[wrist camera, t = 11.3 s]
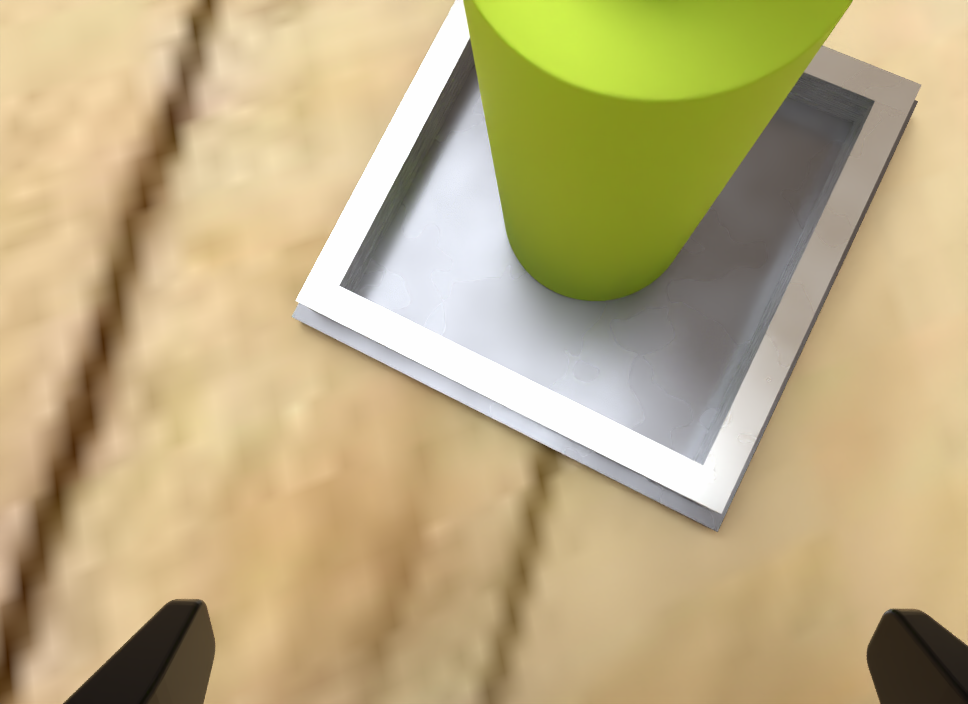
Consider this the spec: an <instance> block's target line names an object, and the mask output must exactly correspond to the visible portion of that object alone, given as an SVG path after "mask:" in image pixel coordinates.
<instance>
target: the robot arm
mask: <svg viewBox="0 0 968 704" xmlns="http://www.w3.org/2000/svg"><path fill="white" fill-rule="evenodd" d="M214 655H215V638H214V634H213V630H212V626H211V622H210V618H209V614H208V610H207V606H206V604H205V603H204V602H203V601H202V600H199V599H175V600H172V601H170V602H168V603H167V604H166V605H164V606H163V607H162V608H161V609H160V610H159V611H158V612H157V613H156V614H155V615H154V616H153V617H152V618H151V619H150V620H149V621H148V622H147V623H146V624H145V625H144V626H143V627H142V628H141V629H140V630H139V631H138V632H137V633H135V634H134V635H133V636H132V637H131V638H130V639H129V640H128V641H127V642H126V643H125V644H124V645H123V646H122V647H121V648H120V649H119V650H118V651H117V652H116V653H115V654H114V655H113V656H112V657H111V658H110V659H109V660H108V661H107V662H106V663H104V664H103V665H102V666H101V667H100V668H99V669H98V670H97V671H96V672H95V673H94V674H93V675H92V676H91V677H90V678H89V679H88V680H87V681H86V682H85V683H84V684H83V685H82V686H81V687H80V688H79V689H78V690H77V691H76V692H75V693H73V694H72V695H71V696H70V697H69V698H68V699H67V700H66V701H65V702H64V703H63V704H203V703H204V699H205V694H206V690H207V686H208V682H209V677H210V673H211V669H212V665H213V660H214ZM867 663H868V667H869V670H870V673H871V676H872V680H873V683H874V686H875V689H876V692H877V695H878V698H879V701H880V704H968V646H967V645H966V644H965V643H963V642H962V641H961V640H960V639H958V638H957V637H956V636H954V635H953V634H952V633H951V632H949V631H948V630H947V629H945V628H944V627H943V626H942V625H940V624H939V623H938V622H936V621H935V620H934V619H933V618H931V617H930V616H929V615H927V614H926V613H924V612H922V611H920V610H916V609H889V610H888V611H886V612H885V613H884V614H883V616H882V618H881V620H880V622H879V624H878V626H877V628H876V630H875V632H874V634H873V636H872V638H871V640H870V642H869V645H868V647H867Z"/></svg>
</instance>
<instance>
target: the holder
mask: <svg viewBox="0 0 968 704" xmlns="http://www.w3.org/2000/svg"><path fill="white" fill-rule="evenodd" d="M920 87H921V84H918V83H916V82H913V81H910V80H908V79H905V78H903V77H900V76H898V75H895V74H893V73H890V72H888V71H885V70H883V69H880V68H878V67H875V66H873V65H870V64H868V63H865V62H863V61H860V60H858V59H855V58H853V57H850V56H847V55H845V54H842V53H840V52H837V51H835V50H832V49H830V48H827V47H825V46H821V48H820V49H819V51H818V52H817V54H816V55H815V56H814V58H813V59H812V61H811V62H810V64H809V65H808V67H807V68H806V69H805V71H804V72H803V74H802V75H801V77H800V78H799V80H798V81H797V82H796V84H795V85H794V87H793V88H792V90H791V91H790V93H789V94H788V96H787V97H786V98H785V100H784V101H783V103H782V104H781V106H780V107H779V109H778V110H777V111H776V113H775V114H774V116H773V117H772V119H771V120H770V122H769V123H768V124H767V126H766V127H765V129H764V130H763V132H762V133H761V135H760V136H759V137H758V139H757V140H756V142H755V143H754V145H753V146H752V148H751V149H750V151H749V152H748V153H747V155H746V156H745V158H744V159H743V161H742V162H741V164H740V165H739V166H738V168H737V169H736V171H735V172H734V174H733V175H732V177H731V178H730V179H729V181H728V182H727V184H726V185H725V187H724V188H723V190H722V191H721V193H720V194H719V195H718V197H717V198H716V200H715V201H714V203H713V204H712V206H711V207H710V208H709V210H708V211H707V213H706V214H705V216H704V217H703V219H702V220H701V221H700V223H699V224H698V226H697V227H696V229H695V230H694V232H693V233H692V234H691V236H690V237H689V239H688V240H687V242H686V243H685V245H684V246H683V248H682V249H681V250H680V252H679V253H678V255H677V256H676V258H675V259H674V261H673V262H672V263H671V265H670V266H669V267H668V268H667V269H666V271H665V272H664V273H663V274H662V275H661V276H660V277H658V278H657V279H656V280H655V281H653V282H652V283H651V284H649V285H648V286H646V287H645V288H643V289H641V290H639V291H637V292H635V293H633V294H630V295H628V296H625V297H621V298H617V299H612V300H605V301H586V300H579V299H574V298H570V297H567V296H564V295H561V294H558V293H556V292H554V291H552V290H550V289H548V288H547V287H545V286H544V285H542V284H541V283H539V282H538V281H537V280H535V279H534V278H533V277H532V276H531V275H530V274H529V273H528V272H527V271H526V270H525V269H524V267H523V266H522V265H521V263H520V262H519V261H518V259H517V257H516V256H515V254H514V252H513V250H512V248H511V245H510V243H509V240H508V237H507V233H506V228H505V223H504V218H503V212H502V207H501V201H500V196H499V191H498V185H497V180H496V175H495V169H494V164H493V158H492V153H491V148H490V142H489V137H488V132H487V126H486V121H485V115H484V110H483V105H482V99H481V94H480V89H479V83H478V78H477V72H476V67H475V62H474V56H473V51H472V45H471V40H470V35H469V29H468V24H467V19H466V13H465V8H464V2H463V0H456V1H455V2H454V4H453V6H452V8H451V10H450V12H449V14H448V16H447V17H446V19H445V21H444V23H443V25H442V27H441V29H440V31H439V32H438V34H437V36H436V38H435V40H434V42H433V44H432V46H431V47H430V49H429V51H428V53H427V55H426V57H425V59H424V61H423V63H422V64H421V66H420V68H419V70H418V72H417V74H416V76H415V78H414V79H413V81H412V83H411V85H410V87H409V89H408V91H407V93H406V94H405V96H404V98H403V100H402V102H401V104H400V106H399V108H398V109H397V111H396V113H395V115H394V117H393V119H392V121H391V123H390V124H389V126H388V128H387V130H386V132H385V134H384V136H383V138H382V139H381V141H380V143H379V145H378V147H377V149H376V151H375V153H374V155H373V156H372V158H371V160H370V162H369V164H368V166H367V168H366V170H365V171H364V173H363V175H362V177H361V179H360V181H359V183H358V185H357V186H356V188H355V190H354V192H353V194H352V196H351V198H350V200H349V201H348V203H347V205H346V207H345V209H344V211H343V213H342V215H341V216H340V218H339V220H338V222H337V224H336V226H335V228H334V230H333V231H332V233H331V235H330V237H329V239H328V241H327V243H326V245H325V247H324V248H323V250H322V252H321V254H320V256H319V258H318V260H317V262H316V263H315V265H314V267H313V269H312V271H311V273H310V275H309V277H308V278H307V280H306V282H305V284H304V286H303V288H302V290H301V292H300V293H299V295H298V297H297V299H296V301H297V302H299V304H298V306H297V308H296V309H295V311H294V313H293V315H292V317H293V318H295V319H297V320H299V321H301V322H303V323H305V324H307V325H309V326H311V327H313V328H315V329H317V330H319V331H321V332H323V333H325V334H327V335H329V336H330V337H332V338H334V339H336V340H338V341H340V342H342V343H344V344H346V345H348V346H350V347H352V348H354V349H356V350H358V351H360V352H362V353H364V354H366V355H368V356H370V357H372V358H374V359H376V360H378V361H380V362H382V363H384V364H386V365H388V366H390V367H392V368H394V369H396V370H398V371H400V372H402V373H404V374H406V375H408V376H410V377H412V378H414V379H416V380H418V381H419V382H421V383H423V384H425V385H427V386H429V387H431V388H433V389H435V390H437V391H439V392H441V393H443V394H445V395H447V396H449V397H451V398H453V399H455V400H457V401H459V402H461V403H463V404H465V405H467V406H469V407H471V408H473V409H475V410H477V411H479V412H481V413H483V414H485V415H487V416H489V417H491V418H493V419H495V420H497V421H499V422H501V423H503V424H505V425H507V426H509V427H510V428H512V429H514V430H516V431H518V432H520V433H522V434H524V435H526V436H528V437H530V438H532V439H534V440H536V441H538V442H540V443H542V444H544V445H546V446H548V447H550V448H552V449H554V450H556V451H558V452H560V453H562V454H564V455H566V456H568V457H570V458H572V459H574V460H576V461H578V462H580V463H582V464H584V465H586V466H588V467H590V468H592V469H594V470H596V471H598V472H599V473H601V474H603V475H605V476H607V477H609V478H611V479H613V480H615V481H617V482H619V483H621V484H623V485H625V486H627V487H629V488H631V489H633V490H635V491H637V492H639V493H641V494H643V495H645V496H647V497H649V498H651V499H653V500H655V501H657V502H659V503H661V504H663V505H665V506H667V507H669V508H671V509H673V510H675V511H677V512H679V513H681V514H683V515H685V516H687V517H688V518H690V519H692V520H694V521H696V522H698V523H700V524H702V525H704V526H706V527H708V528H710V529H712V530H714V531H716V532H718V530H719V528H720V526H721V523H722V521H723V519H724V517H725V515H726V513H727V511H728V508H729V506H730V504H731V502H732V500H733V498H734V496H735V493H736V491H737V489H738V487H739V485H740V483H741V480H742V478H743V476H744V474H745V472H746V470H747V468H748V465H749V463H750V461H751V459H752V457H753V455H754V453H755V450H756V448H757V446H758V444H759V442H760V440H761V438H762V435H763V433H764V431H765V429H766V427H767V425H768V422H769V420H770V418H771V416H772V414H773V412H774V410H775V407H776V405H777V403H778V401H779V399H780V397H781V395H782V392H783V390H784V388H785V386H786V384H787V382H788V380H789V377H790V375H791V373H792V371H793V369H794V367H795V365H796V362H797V360H798V358H799V356H800V354H801V352H802V349H803V347H804V345H805V343H806V341H807V339H808V337H809V334H810V332H811V330H812V328H813V326H814V324H815V322H816V319H817V317H818V315H819V313H820V311H821V309H822V307H823V304H824V302H825V300H826V298H827V296H828V294H829V291H830V289H831V287H832V285H833V283H834V281H835V279H836V276H837V274H838V272H839V270H840V268H841V266H842V264H843V261H844V259H845V257H846V255H847V253H848V251H849V249H850V246H851V244H852V242H853V240H854V238H855V236H856V233H857V231H858V229H859V227H860V225H861V223H862V221H863V218H864V216H865V214H866V212H867V210H868V208H869V206H870V203H871V201H872V199H873V197H874V195H875V193H876V191H877V188H878V186H879V184H880V182H881V180H882V178H883V175H884V173H885V171H886V169H887V167H888V165H889V163H890V160H891V158H892V156H893V154H894V152H895V150H896V148H897V145H898V143H899V141H900V139H901V137H902V135H903V133H904V130H905V128H906V126H907V124H908V122H909V120H910V117H911V115H912V113H913V111H914V109H915V107H916V105H917V102H918V101H916V100H915V98H916V96H917V93H918V91H919V89H920Z"/></svg>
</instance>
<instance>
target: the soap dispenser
mask: <svg viewBox="0 0 968 704" xmlns="http://www.w3.org/2000/svg"><path fill="white" fill-rule="evenodd" d="M852 1H853V0H463V2H464V8H465V13H466V19H467V24H468V29H469V35H470V40H471V45H472V51H473V56H474V62H475V67H476V72H477V78H478V83H479V89H480V94H481V99H482V105H483V110H484V115H485V121H486V126H487V132H488V137H489V142H490V148H491V153H492V158H493V164H494V169H495V175H496V180H497V185H498V191H499V196H500V201H501V207H502V212H503V218H504V223H505V228H506V233H507V237H508V240H509V243H510V245H511V248H512V250H513V252H514V254H515V256H516V257H517V259H518V261H519V262H520V263H521V265H522V266H523V267H524V269H525V270H526V271H527V272H528V273H529V274H530V275H531V276H532V277H533V278H534V279H535V280H537V281H538V282H539V283H541V284H542V285H544V286H545V287H547V288H548V289H550V290H552V291H554V292H556V293H558V294H561V295H564V296H567V297H570V298H574V299H579V300H586V301H605V300H612V299H617V298H621V297H625V296H628V295H630V294H633V293H635V292H637V291H639V290H641V289H643V288H645V287H646V286H648V285H649V284H651V283H652V282H653V281H655V280H656V279H657V278H658V277H660V276H661V275H662V274H663V273H664V272H665V271H666V269H667V268H668V267H669V266H670V265H671V263H672V262H673V261H674V259H675V258H676V256H677V255H678V253H679V252H680V250H681V249H682V248H683V246H684V245H685V243H686V242H687V240H688V239H689V237H690V236H691V234H692V233H693V232H694V230H695V229H696V227H697V226H698V224H699V223H700V221H701V220H702V219H703V217H704V216H705V214H706V213H707V211H708V210H709V208H710V207H711V206H712V204H713V203H714V201H715V200H716V198H717V197H718V195H719V194H720V193H721V191H722V190H723V188H724V187H725V185H726V184H727V182H728V181H729V179H730V178H731V177H732V175H733V174H734V172H735V171H736V169H737V168H738V166H739V165H740V164H741V162H742V161H743V159H744V158H745V156H746V155H747V153H748V152H749V151H750V149H751V148H752V146H753V145H754V143H755V142H756V140H757V139H758V137H759V136H760V135H761V133H762V132H763V130H764V129H765V127H766V126H767V124H768V123H769V122H770V120H771V119H772V117H773V116H774V114H775V113H776V111H777V110H778V109H779V107H780V106H781V104H782V103H783V101H784V100H785V98H786V97H787V96H788V94H789V93H790V91H791V90H792V88H793V87H794V85H795V84H796V82H797V81H798V80H799V78H800V77H801V75H802V74H803V72H804V71H805V69H806V68H807V67H808V65H809V64H810V62H811V61H812V59H813V58H814V56H815V55H816V54H817V52H818V51H819V49H820V48H821V46H822V45H823V43H824V42H825V41H826V39H827V38H828V36H829V35H830V33H831V32H832V30H833V29H834V27H835V26H836V25H837V23H838V22H839V20H840V19H841V17H842V16H843V14H844V13H845V12H846V10H847V9H848V7H849V6H850V4H851V3H852Z"/></svg>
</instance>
